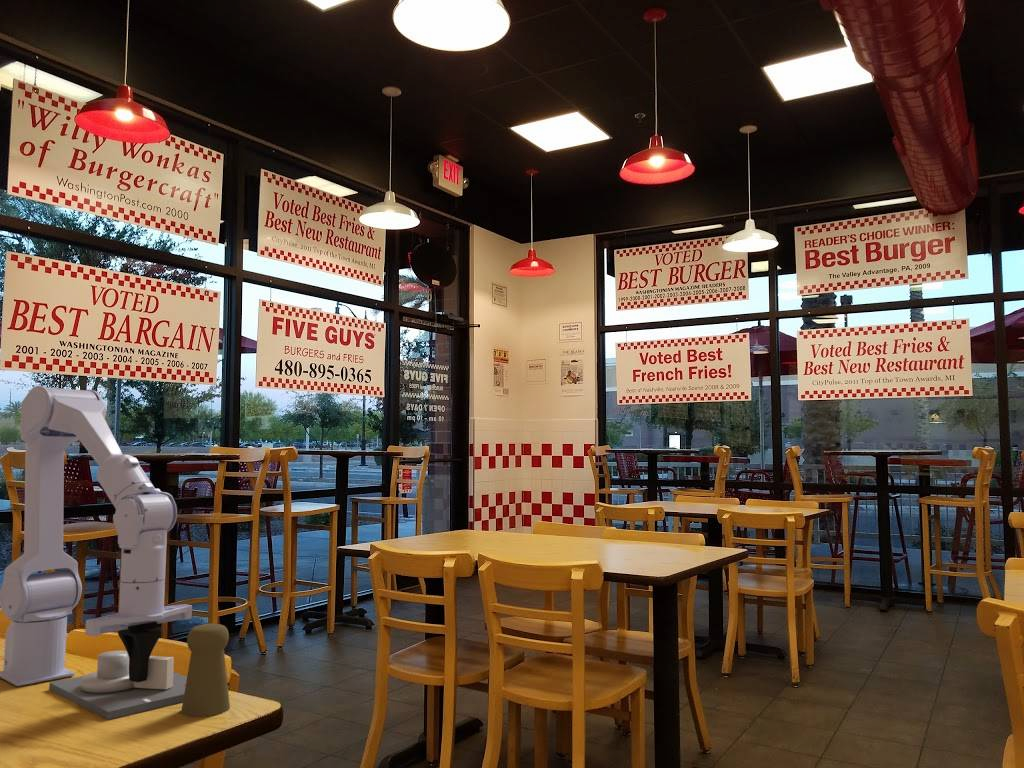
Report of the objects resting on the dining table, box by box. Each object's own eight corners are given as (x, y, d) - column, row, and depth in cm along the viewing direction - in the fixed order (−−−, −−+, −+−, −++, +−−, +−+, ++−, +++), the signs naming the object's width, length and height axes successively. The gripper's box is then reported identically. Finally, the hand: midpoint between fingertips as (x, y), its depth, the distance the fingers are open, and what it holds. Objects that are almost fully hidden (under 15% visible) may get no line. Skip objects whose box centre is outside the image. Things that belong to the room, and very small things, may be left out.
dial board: (49, 689, 114) (49, 681, 114) (149, 669, 125) (150, 662, 125) (107, 719, 101) (108, 710, 101) (214, 694, 112) (214, 686, 112)
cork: (213, 718, 102) (216, 630, 103) (171, 715, 103) (174, 628, 104) (238, 704, 108) (241, 621, 109) (198, 701, 109) (201, 619, 110)
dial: (66, 690, 110) (68, 659, 110) (106, 675, 117) (108, 646, 118) (151, 696, 107) (152, 664, 108) (186, 680, 115) (187, 650, 115)
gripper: (107, 589, 103) (102, 697, 102) (205, 576, 115) (202, 672, 114) (79, 584, 107) (74, 688, 106) (177, 572, 119) (173, 665, 118)
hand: (138, 680), depth 110 cm, fingers closed, pressing on dial
